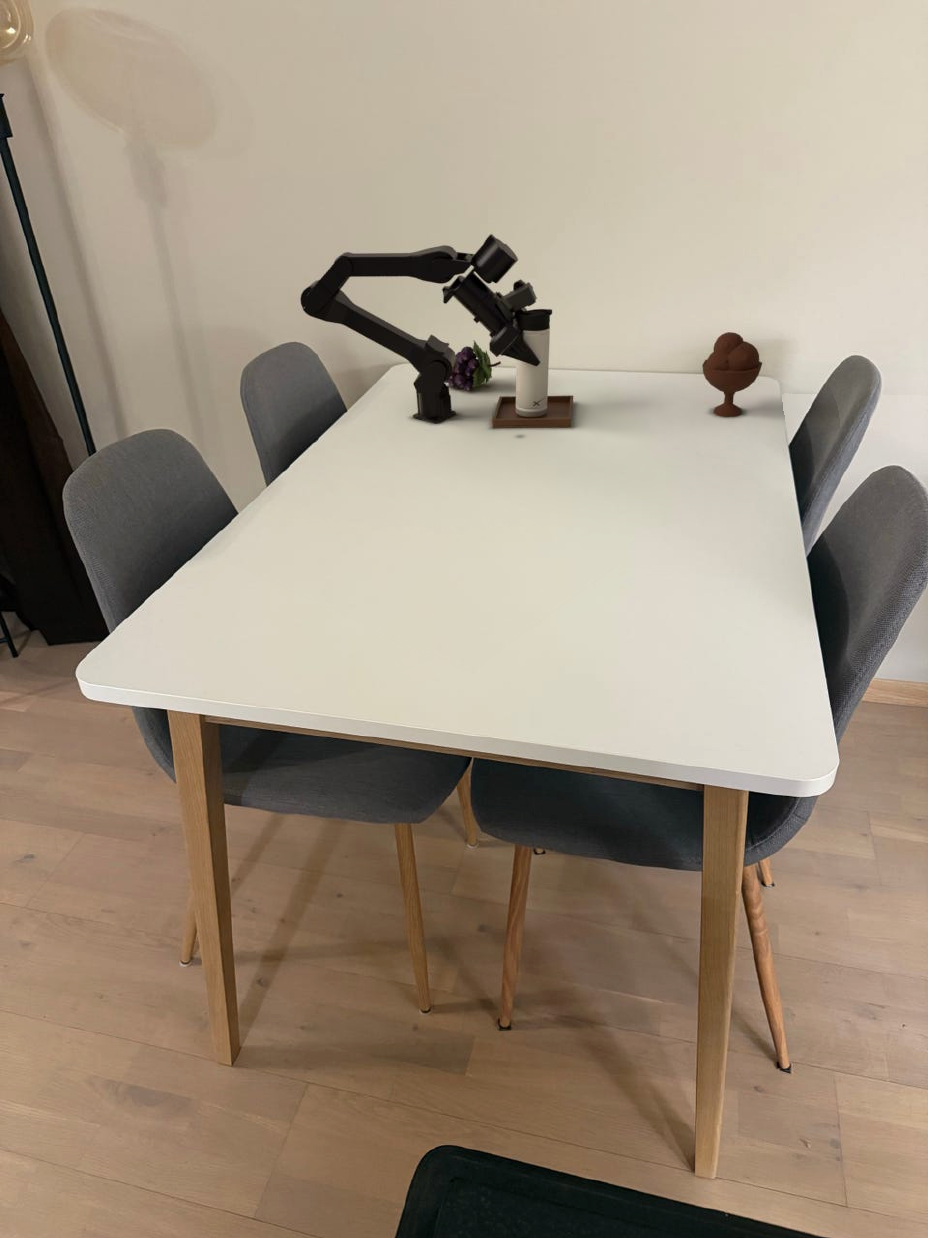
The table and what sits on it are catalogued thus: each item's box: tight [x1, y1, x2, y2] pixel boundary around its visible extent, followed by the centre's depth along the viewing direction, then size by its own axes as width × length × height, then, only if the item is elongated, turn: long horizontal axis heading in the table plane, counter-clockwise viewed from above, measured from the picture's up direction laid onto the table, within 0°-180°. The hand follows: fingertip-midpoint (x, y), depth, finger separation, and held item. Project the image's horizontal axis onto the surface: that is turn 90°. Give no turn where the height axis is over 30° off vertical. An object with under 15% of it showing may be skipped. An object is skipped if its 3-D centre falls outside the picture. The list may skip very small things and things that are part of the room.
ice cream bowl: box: [701, 331, 763, 418], centre depth 172 cm, size 11×11×15 cm
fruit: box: [445, 340, 502, 392], centre depth 195 cm, size 10×11×15 cm
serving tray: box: [491, 394, 574, 429], centre depth 180 cm, size 15×14×2 cm
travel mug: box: [515, 308, 553, 417], centre depth 175 cm, size 6×7×20 cm
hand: (539, 359), depth 174 cm, fingers closed on travel mug, 6 cm apart
